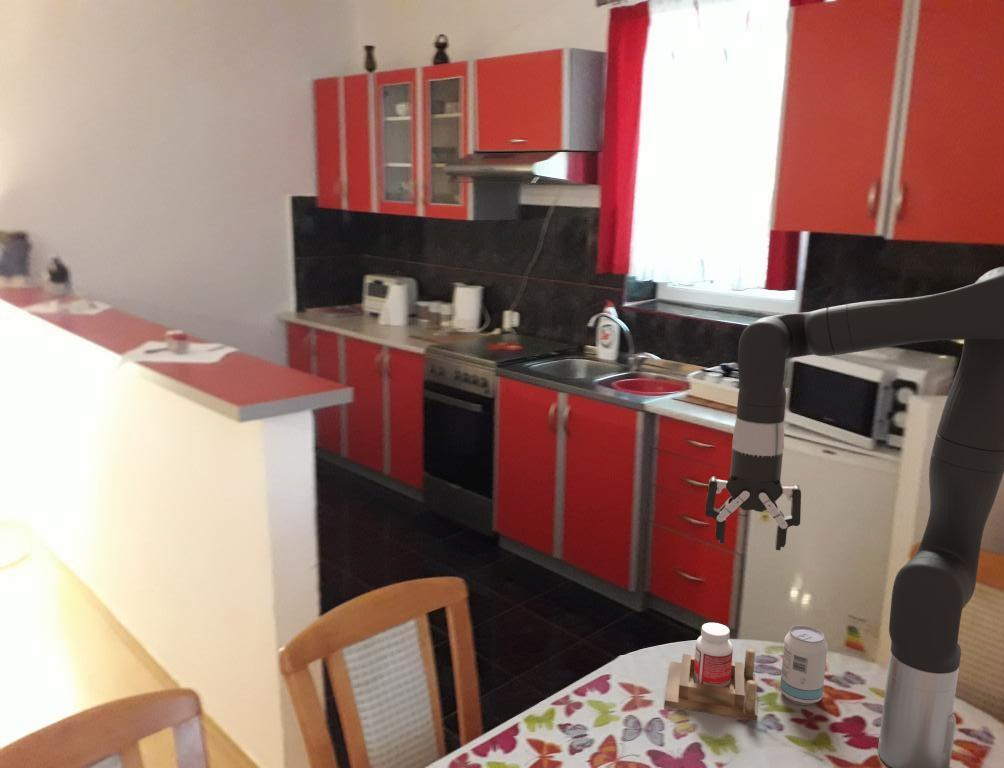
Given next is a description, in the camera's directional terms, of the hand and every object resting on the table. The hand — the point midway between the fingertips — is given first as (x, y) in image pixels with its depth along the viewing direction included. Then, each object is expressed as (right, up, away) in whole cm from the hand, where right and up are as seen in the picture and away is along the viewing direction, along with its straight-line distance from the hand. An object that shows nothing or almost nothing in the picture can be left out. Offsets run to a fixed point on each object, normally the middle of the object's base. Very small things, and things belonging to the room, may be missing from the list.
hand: (749, 545), depth 131 cm
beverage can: (+12, -29, +12) cm, 33 cm away
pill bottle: (-3, -27, +13) cm, 30 cm away
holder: (-3, -28, +13) cm, 31 cm away
